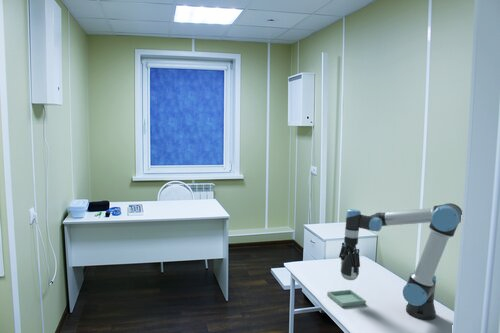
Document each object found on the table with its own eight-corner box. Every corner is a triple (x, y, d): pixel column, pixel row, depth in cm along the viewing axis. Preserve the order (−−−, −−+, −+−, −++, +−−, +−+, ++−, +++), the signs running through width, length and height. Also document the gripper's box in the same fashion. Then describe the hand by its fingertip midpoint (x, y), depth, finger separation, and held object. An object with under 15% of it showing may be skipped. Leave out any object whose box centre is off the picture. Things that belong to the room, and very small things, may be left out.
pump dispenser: (344, 273, 239) (347, 249, 237) (361, 279, 232) (363, 253, 231) (336, 278, 231) (338, 252, 230) (353, 283, 224) (355, 257, 223)
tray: (365, 304, 228) (365, 300, 228) (341, 307, 222) (342, 303, 222) (349, 293, 242) (350, 289, 242) (327, 295, 237) (327, 291, 237)
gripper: (369, 242, 219) (365, 281, 222) (345, 231, 241) (342, 267, 243) (357, 242, 217) (353, 282, 219) (335, 231, 238) (331, 267, 240)
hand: (348, 274), depth 231 cm, fingers closed on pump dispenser, 10 cm apart
